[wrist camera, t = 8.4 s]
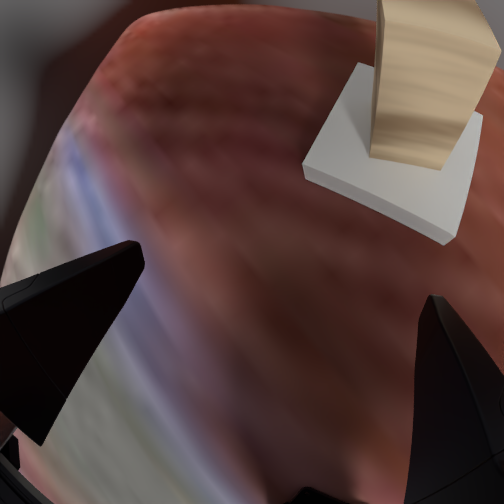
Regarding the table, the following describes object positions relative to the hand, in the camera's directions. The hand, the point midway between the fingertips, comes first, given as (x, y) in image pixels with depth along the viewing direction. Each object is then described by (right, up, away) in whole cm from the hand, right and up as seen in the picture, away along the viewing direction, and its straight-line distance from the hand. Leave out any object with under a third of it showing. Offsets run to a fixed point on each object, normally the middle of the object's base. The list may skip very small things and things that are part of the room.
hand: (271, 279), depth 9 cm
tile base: (+12, +9, +14) cm, 20 cm away
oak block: (+11, +10, +11) cm, 18 cm away
